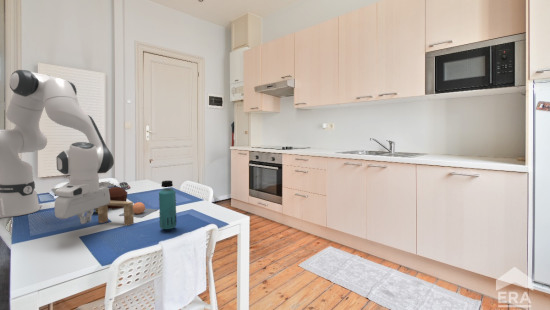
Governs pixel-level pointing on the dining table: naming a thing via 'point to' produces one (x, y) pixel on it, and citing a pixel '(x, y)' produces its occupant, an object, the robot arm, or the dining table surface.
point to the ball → (138, 208)
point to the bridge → (127, 205)
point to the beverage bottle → (167, 206)
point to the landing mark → (146, 212)
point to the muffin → (117, 196)
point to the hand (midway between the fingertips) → (85, 222)
